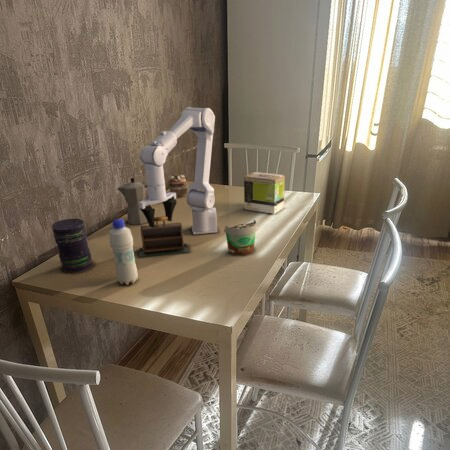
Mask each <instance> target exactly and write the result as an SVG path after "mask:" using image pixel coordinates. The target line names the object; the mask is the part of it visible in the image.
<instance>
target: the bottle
mask: <svg viewBox="0 0 450 450" xmlns="http://www.w3.org/2000/svg"><path fill="white" fill-rule="evenodd" d="M108 233H109V244H110V248H111V249H112V254H113V260H114V266H115V275H116V279H117V281H118V283H120V284H121V285H124V284H125V285H126V286H129V283H131V284H132V285H133V284H135V282H137V281H138V279H139V275H138V269H137V264H136V258H135V253H134V247H133V246H134V237H133V235H132V231H131V229H130V228H129V227H126V224H125V220H124V219H123V218H115V219H114V220H113V221H112V229H110V230H109V232H108Z"/></svg>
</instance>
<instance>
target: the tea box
mask: <svg viewBox="0 0 450 450" xmlns="http://www.w3.org/2000/svg"><path fill="white" fill-rule="evenodd" d="M285 179H286V178H285V174H279V173H270V172H260V171H254V172H251V173H249V174H247V175H244V176H243V201H244V203H243V205H244V206H243V207H244V210H246V211H254V212H261V213H267V214H272V215H275V214H276V213H278V212H280V211H282V210H283V209H284V206H285V184H286V183H285V181H286V180H285Z"/></svg>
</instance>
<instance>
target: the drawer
mask: <svg viewBox="0 0 450 450" xmlns="http://www.w3.org/2000/svg"><path fill="white" fill-rule="evenodd" d="M154 221H155V227H154V228H152V227H150V226H149V224H148V225H141V226H140V236H141V242H142V248H143V251H144V252H153V251H164V250H174V249H184V236H183V226H182V222H171V223H166V221H168V217H167V216H166V215H165V216H154ZM159 222H162V223H160V224H159Z"/></svg>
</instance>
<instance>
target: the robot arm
mask: <svg viewBox="0 0 450 450" xmlns="http://www.w3.org/2000/svg"><path fill="white" fill-rule="evenodd" d="M215 122H216V115H215V113H214V112H213V110H212V109H211V108H210V107H192V106H188V107H185V108H184V109H183V110H182V111H181V113H180V117H179V119H178V120H177V121H176V122H175V123H174V124H173V126H172V127H171V128H170V129H169V130H162V131H160V132H159V135H158V136H157V137H156V138H155V139H154V140H152V141H151V143H150V144H148V145H145V146H143V147H142V148H141V150H140V154H139V160H140V162H141V163H142V165H143V169H144V171H145V178H146V182H147V185H148V187H147V191H148V192H147V193H148V197H146V198H145V200H143V201H141V202H139V208H140V210H141V211H142V212H143V214H144V215H145V217H146V219H147V221H148V222H147V223H148V225H149V226H150V227H152V228H154V227H155V225H156V221H154V217H155V212H156V209H155V208H153V207H152V206H155V205H157V204H160V203H162V205H163V208H164V215H165V216H167V217H168V220H167V222H172V221H173V215H174V211H175V207H176V206H177V204H178V203H177V200H176V199H177V197H176V193H174V192H170V191H169V192H167V191H166V181H165V180H166V179H165V171H164V164H165V163H166V160H167V157H168V154H170V152H172V150H173V149H174V148H175V147H177V143H178V139H179V138H180V137H181V136H182V135H184V134H185V133H186V132H187V131H188V130H190V131H192V133H194V134H195V135H196V137H197V142H196V144H197V145H196V157H195V169H194V181H193V182H192V183H191V184H190V185H188V190H187V195H186V196H185V199H186V204H187V205H188V206H189V208H190V209H191V217H192V226H190V228H191V231H192V235H195V236H196V235H204V234H216V233H218V215H217V209H216V207H214V206H215V202H216V199H215V188H214V187H213V186H212V185H210V173H211V172H210V171H211V162H212V161H211V160H212V151H213V149H212V148H213V139H214V133H215Z"/></svg>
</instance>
